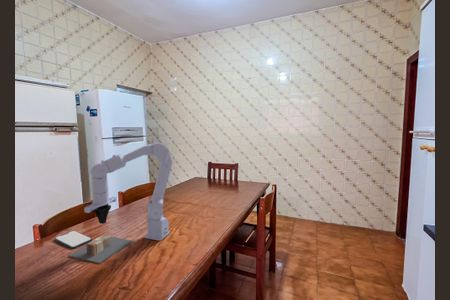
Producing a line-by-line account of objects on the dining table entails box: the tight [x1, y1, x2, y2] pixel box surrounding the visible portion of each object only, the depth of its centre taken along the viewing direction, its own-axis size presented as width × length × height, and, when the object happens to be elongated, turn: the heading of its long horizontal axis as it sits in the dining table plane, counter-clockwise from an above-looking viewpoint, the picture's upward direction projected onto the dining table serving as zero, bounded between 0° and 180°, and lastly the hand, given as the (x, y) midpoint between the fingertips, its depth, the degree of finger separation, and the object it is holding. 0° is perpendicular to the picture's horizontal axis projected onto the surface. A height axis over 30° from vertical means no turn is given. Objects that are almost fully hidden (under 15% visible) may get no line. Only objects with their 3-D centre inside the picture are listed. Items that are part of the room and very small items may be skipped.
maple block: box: [85, 234, 111, 255], centre depth 90 cm, size 4×4×8 cm
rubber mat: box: [68, 236, 133, 265], centre depth 91 cm, size 16×17×1 cm
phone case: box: [54, 230, 93, 250], centre depth 98 cm, size 9×2×16 cm
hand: (102, 222), depth 92 cm, fingers closed
